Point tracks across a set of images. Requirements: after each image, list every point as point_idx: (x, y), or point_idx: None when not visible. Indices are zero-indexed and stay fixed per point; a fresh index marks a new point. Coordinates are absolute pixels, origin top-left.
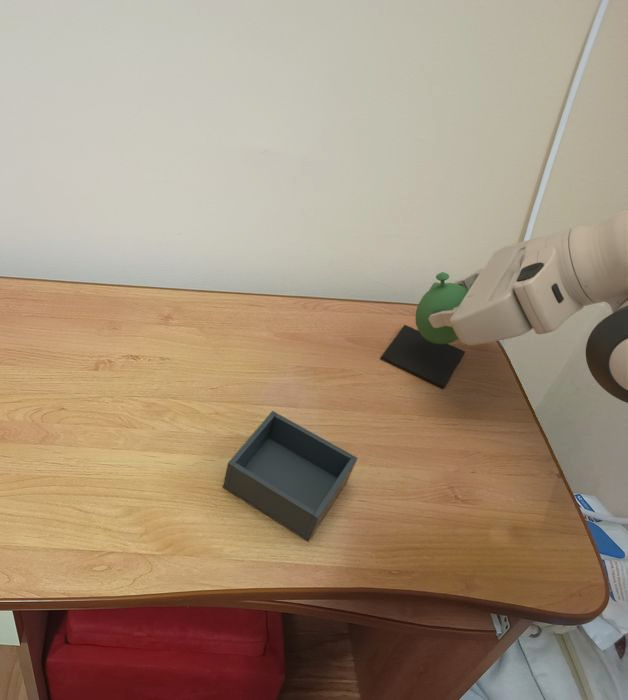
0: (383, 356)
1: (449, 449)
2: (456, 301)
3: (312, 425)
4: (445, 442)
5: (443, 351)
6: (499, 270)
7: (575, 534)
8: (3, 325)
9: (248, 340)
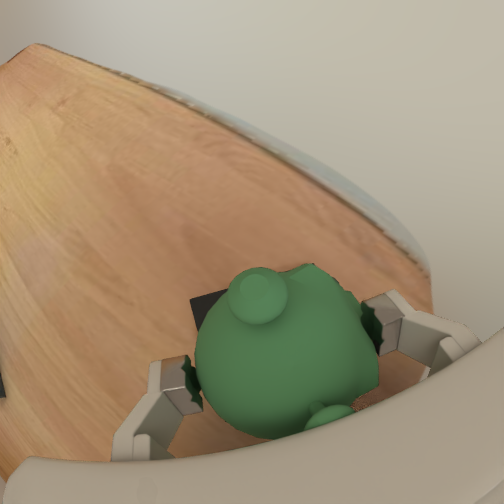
0: (192, 302)
1: None
2: (238, 403)
3: (21, 321)
4: None
5: None
6: (418, 500)
7: None
8: (5, 88)
9: (78, 160)
